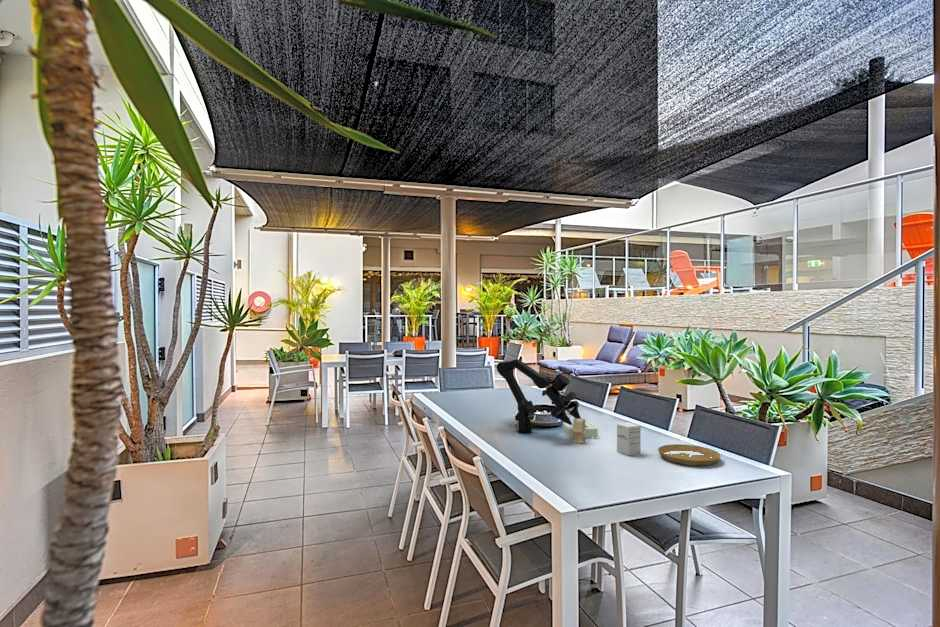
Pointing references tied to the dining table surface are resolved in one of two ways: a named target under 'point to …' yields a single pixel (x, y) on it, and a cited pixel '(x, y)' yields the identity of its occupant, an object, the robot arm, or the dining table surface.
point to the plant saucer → (685, 458)
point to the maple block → (579, 430)
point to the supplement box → (628, 438)
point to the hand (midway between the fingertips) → (576, 422)
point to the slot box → (589, 430)
